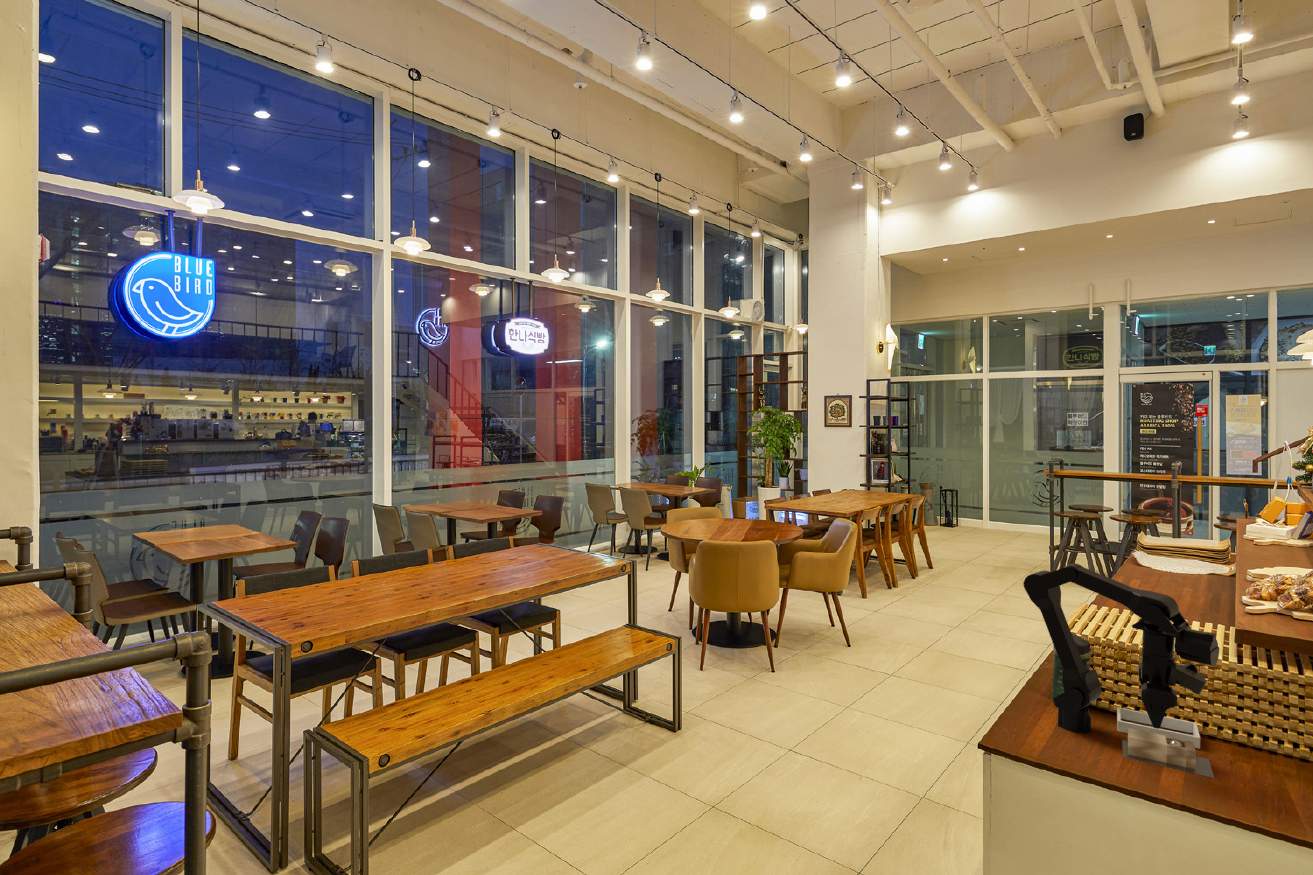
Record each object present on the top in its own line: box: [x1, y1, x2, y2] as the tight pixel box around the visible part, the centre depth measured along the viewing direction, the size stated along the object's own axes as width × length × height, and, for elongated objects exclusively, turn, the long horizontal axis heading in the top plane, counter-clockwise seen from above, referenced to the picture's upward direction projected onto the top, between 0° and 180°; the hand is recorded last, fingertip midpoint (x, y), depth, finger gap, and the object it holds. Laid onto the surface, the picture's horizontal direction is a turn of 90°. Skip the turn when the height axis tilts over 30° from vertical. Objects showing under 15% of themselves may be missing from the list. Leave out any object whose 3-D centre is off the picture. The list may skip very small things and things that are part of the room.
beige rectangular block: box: [1127, 728, 1197, 769], centre depth 153 cm, size 12×5×4 cm, turn 57°
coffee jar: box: [1051, 634, 1092, 703], centre depth 182 cm, size 10×8×19 cm
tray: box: [1116, 706, 1201, 750], centre depth 164 cm, size 16×9×4 cm, turn 57°
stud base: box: [1121, 739, 1215, 779], centre depth 152 cm, size 16×9×5 cm, turn 57°
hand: (1155, 719), depth 153 cm, fingers open, 9 cm apart
